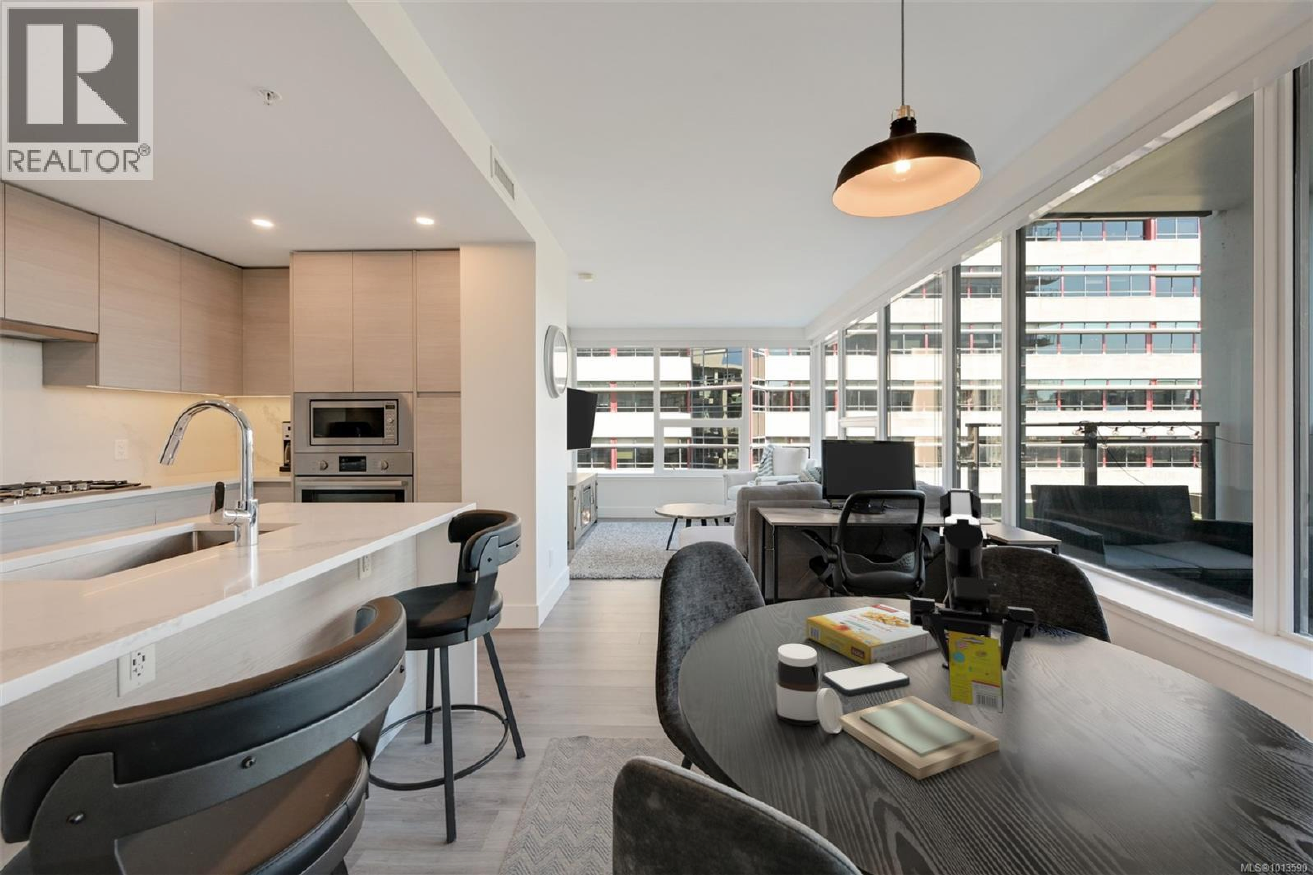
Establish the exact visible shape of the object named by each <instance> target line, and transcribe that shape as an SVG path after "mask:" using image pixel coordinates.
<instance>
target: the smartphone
mask: <svg viewBox="0 0 1313 875" xmlns="http://www.w3.org/2000/svg"><path fill="white" fill-rule="evenodd" d="M821 678H822V680H823V681H824V682H825V683H827V684H828V685H830V686H831V687H833V689H836V690H837V691H839V692H840V693H842V694H843V695H845V696H854V695H855V696H856V695H860V694H866V693H871V692H876V691H881V690H888V689H893V688H897V687H903V686H907V685H909V684H910V683H911V679H910V676H909V675H908V674H905V673H904V672H901V671H900V670H899V669H896V668H894V667H892V666H890V665H889V664H886V663H873V664H868V665H864V664H862V665H858V666H853V667H848V668H843V669H837V670H833V671H827V672H823V673H822V676H821Z"/></svg>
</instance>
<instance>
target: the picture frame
mask: <svg viewBox="0 0 1313 875" xmlns="http://www.w3.org/2000/svg"><path fill="white" fill-rule="evenodd" d="M839 722H840V724H841V725H842V729H841V730H843V731H845V732H846V733H848V734H849V735H851V736H852V737H854V738H855V739H857V740H858V741H859V742H861V743H862V744H864V745H865V746H867V747H868V748H869V749H871V750H872V751H875V752H876V753H877V754H879V755H881V757H884V758H885V759H886V760H888V761H889V762H891V763H892V764H894V765H895V766H897V767H898V768H899V769H901V770H902V771H904V772H906V773H908V774H909V775H910V776H911V777H913V778H915V779H916V780H918V781H920V780H924V779H925V778H928V777H931V776H933V775H937V774H939V773H941V772H944V771H947V770H949V769H951V768H955V767H957V766H959V765H960V766H961V765H963V764H964V763H967V762H970V761H973V760H975V759H979V758H981V757H983V755H984V756H986V755H988V754H991V753H993V752H997V751H1000V739H999V738H997V737H995V736H993V735H992V734H990V733H988V732H985V731H983V730H981V729H979V728H977V727H976V726H974V725H971V724H969V723H967V722H965V721H964V720H961V719H960V718H958V717H955V716H954V715H952V714H950V713H948V712H946V711H944V710H942V709H940V708H938V707H936V706H934V705H932V704H931V703H928V702H926V701H924V700H922V699H921V698H918V697H916V696H914V695H909V696H906V697H903V698H899V699H896V700H892V701H888V702H885V703H882V704H881V703H880V704H877V705H874V706H871V707H867V708H864V709H861V710H857V711H853V712H850V713H846V714H843V716H839V717H838V723H839Z"/></svg>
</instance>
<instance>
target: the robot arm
mask: <svg viewBox="0 0 1313 875" xmlns="http://www.w3.org/2000/svg"><path fill="white" fill-rule="evenodd" d="M939 516H940V517H941V518H943V526H940V527H939V545H940V546H944V550H945V552H944V553H945V558H944V559H945V568H946V569H945V570H946V579H947V589H948V596H947V597H946V599H945V601H944V607H940V606H938V605H937V604H936V601H935V599H934V598H924V597H914V596H913V597H912V598H911V599H910V601H909V613H910V624H912V625H915V626H922V629H923V630H924V631H928V632H929V633H930V634H931V636H932V637H933V639H934V640H935V642H936V643H937V645H938V647H939V648H938V649H939V651H940V652H941V654H942V656H943V659H944V662H942V663H941V667H943V668H946V669H949V644H948V645H947V641H946V640H948V643H949V633H948V631H953V632H959V633H965V634H971V635H977V636H983V637H988V638H992V636H991V634H992V626H1000V627H1001V632H1000V636H999V638H1000V639H999V643H1000V644H999V645H1000V646H1001V657H1002V672H1003V671H1004V672H1007V670H1008V666H1009V660H1010V654H1011V650H1012V647H1013V646H1014V645H1013V644H1014V643H1015V642H1021V641H1023V640H1022V639H1027V640H1028V639H1029V640H1030V639H1034V638H1035V636H1036V632H1037V630H1038V628H1039V625H1040V623H1039V618H1038V614H1037V613H1036V612H1035V610H1033V609H1032V608H1029V607H1028V608H1027V607H1018V606H1017V607H1016V606H1006V611H1005V613H997V612H989V609H990V608H991V598H990V597H995V598H1000V597H1001V596H1003V584H1002V580H1001V576H1000V575H987V576H986V577H985V578H984V576H983V575H984V574H983V570H982V569H983V568H982V559H983V549H987V548H988V545H989V546H991V537H990V535H989V534H988V533H987V531H986V529H985V528H984V529H983V528H982V525H981V520H980V519H982V498H981V497H979V496H977V495H976V494H974V490H973V489H970V488H950V489H947V492H946V493H944V494H943V495H941V496H939ZM945 630H947V631H945ZM962 639H963V640H968V641H973V642H979V643H984V642H983V641H982V640H977V639H975V638H973V637H972V638H965V637H964V638H962Z"/></svg>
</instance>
